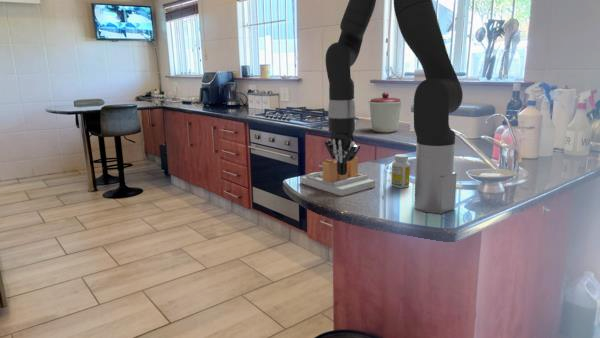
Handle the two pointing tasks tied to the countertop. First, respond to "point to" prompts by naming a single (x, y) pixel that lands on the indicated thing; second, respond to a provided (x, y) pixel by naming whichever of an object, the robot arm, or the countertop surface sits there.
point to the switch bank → (339, 183)
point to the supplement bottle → (400, 171)
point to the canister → (385, 113)
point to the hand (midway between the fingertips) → (341, 174)
